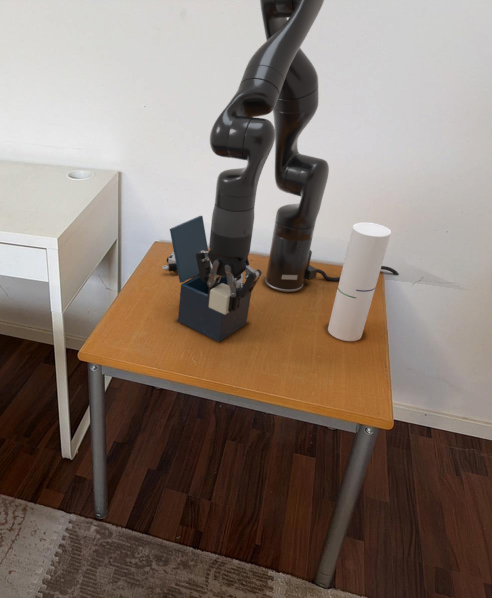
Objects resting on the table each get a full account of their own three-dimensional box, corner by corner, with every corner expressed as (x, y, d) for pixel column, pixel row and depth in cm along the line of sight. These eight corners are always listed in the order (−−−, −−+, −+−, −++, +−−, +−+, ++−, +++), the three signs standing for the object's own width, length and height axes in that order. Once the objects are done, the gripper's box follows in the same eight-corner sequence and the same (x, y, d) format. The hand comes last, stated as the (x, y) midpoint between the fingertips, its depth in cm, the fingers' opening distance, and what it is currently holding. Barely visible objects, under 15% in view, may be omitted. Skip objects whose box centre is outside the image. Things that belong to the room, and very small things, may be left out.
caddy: (246, 323, 131) (252, 286, 126) (219, 342, 125) (223, 303, 120) (205, 304, 139) (209, 269, 134) (177, 321, 132) (180, 284, 127)
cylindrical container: (364, 342, 125) (394, 237, 112) (330, 339, 126) (356, 235, 113) (358, 325, 131) (386, 223, 118) (325, 321, 132) (349, 221, 119)
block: (220, 299, 117) (222, 282, 115) (236, 307, 114) (239, 289, 112) (208, 307, 114) (210, 289, 112) (225, 314, 112) (227, 297, 110)
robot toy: (160, 279, 152) (216, 285, 146) (159, 263, 149) (217, 269, 144) (173, 259, 161) (226, 265, 156) (172, 245, 159) (227, 250, 154)
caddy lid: (202, 215, 130) (199, 215, 130) (172, 228, 123) (169, 228, 124) (211, 267, 133) (208, 267, 134) (182, 282, 127) (179, 282, 128)
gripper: (277, 232, 103) (264, 312, 112) (212, 211, 112) (205, 287, 121) (253, 245, 99) (242, 327, 108) (188, 222, 108) (182, 300, 117)
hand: (222, 305), depth 114 cm, fingers closed on block, 4 cm apart
